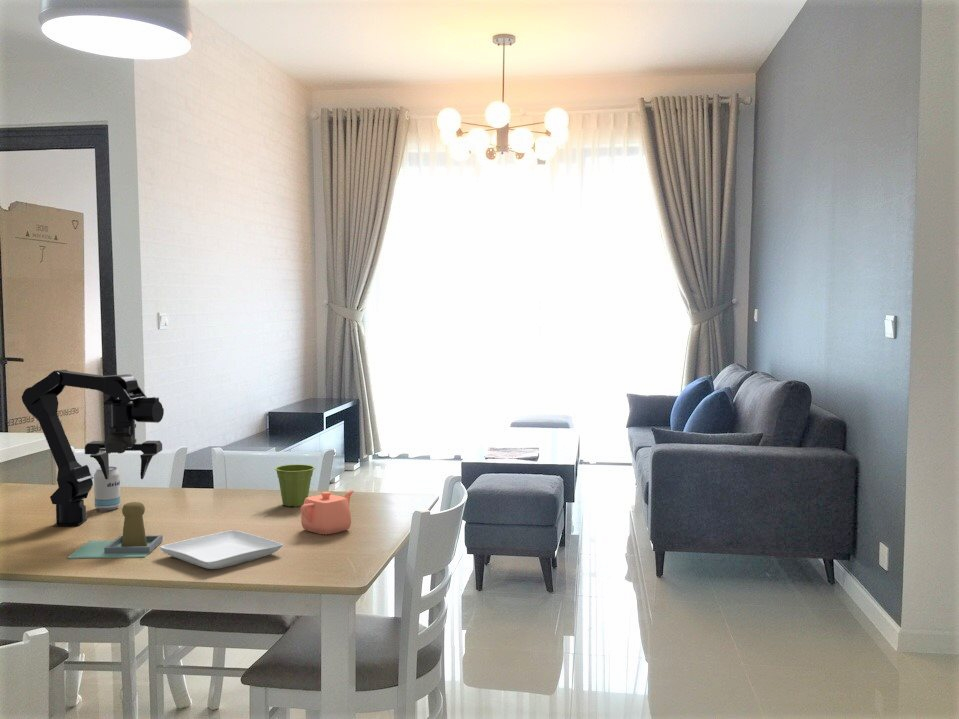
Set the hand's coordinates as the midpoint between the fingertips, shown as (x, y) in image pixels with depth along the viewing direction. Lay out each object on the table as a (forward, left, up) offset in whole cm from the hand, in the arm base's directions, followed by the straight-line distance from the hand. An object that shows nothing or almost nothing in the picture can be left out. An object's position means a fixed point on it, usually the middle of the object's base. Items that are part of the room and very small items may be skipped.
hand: (124, 479), depth 231 cm
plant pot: (+42, +24, -13) cm, 50 cm away
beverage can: (-12, +21, -13) cm, 28 cm away
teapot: (+55, -6, -13) cm, 57 cm away
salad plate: (+32, -29, -14) cm, 45 cm away
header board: (+5, -22, -13) cm, 26 cm away
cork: (+9, -21, -13) cm, 26 cm away
